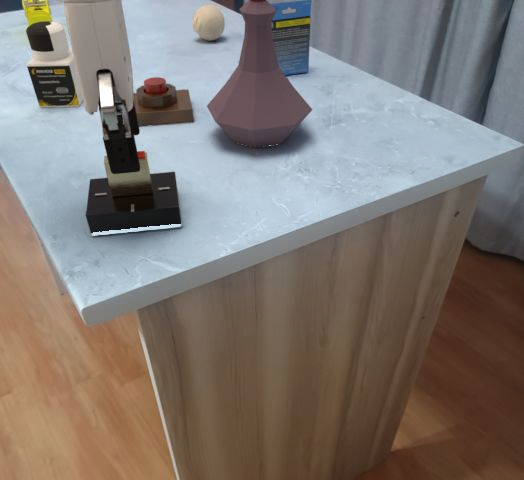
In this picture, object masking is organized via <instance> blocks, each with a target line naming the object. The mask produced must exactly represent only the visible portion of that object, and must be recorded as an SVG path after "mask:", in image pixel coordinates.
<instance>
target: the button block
mask: <svg viewBox="0 0 524 480" xmlns="http://www.w3.org/2000/svg"><path fill="white" fill-rule="evenodd" d="M166 86H167V92H166V93H163V94H157V95H151V94H146V93H145V87H144V84H143V85H141V86H139V87H138V88H137V89H135V90H136V91H135V92H133V100H134V104H135V109H136V114H137V119H138V125H139V127H149V126H148V125H152V126H163V125H175V124H190V123H194V122H195V121H194V111H193V105H192V99H191V95H190V91H189V89H187V88H186V89H177V87H176V86H175V85H174V84H171V83H166Z"/></svg>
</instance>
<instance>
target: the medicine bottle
mask: <svg viewBox="0 0 524 480" xmlns="http://www.w3.org/2000/svg"><path fill="white" fill-rule="evenodd" d="M52 21H53V20H52ZM52 21H43V22H37V23H34V24H31V25H30V26H28V27H26V30H25V33H26V36H27V39H28V43H29V46H30V48H31V53H32V55H33V56H32V57H31V59H30V60H29V61H28V62H27V63H26V68H27V71H28V75H29V78H30V81H31V85H32V86H33V90H34V93H35V97H36V100H37V103H38V106H39V108H45V109H46V108H79V107H81V104H82V102H84V101H83V96H82V92H81V87H80V82H79V78H78V74H77V69H76V65H75V60H74V56H73V51H72V49H70V47H69V42H68V38H67V36H66V31H65V26H63V25H62V23H59V22H56V21H53V22H52Z"/></svg>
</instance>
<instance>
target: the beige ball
mask: <svg viewBox="0 0 524 480" xmlns="http://www.w3.org/2000/svg"><path fill="white" fill-rule="evenodd" d="M191 24H192V29H193V31H194V32H195V33H196V34H197V35H198V36H199V37H200V38H201V39H203V40H204V41H205V40H206V41H215V40H218V39H219V38H220V37H221V36H222V35H223V33H224V31H225V27H226V22H225V16H224V14H223V12H222V10H221V9H220V8H219V7H218V6H215V5H213V4H204V5H201V6H200V7H199V8H198V9H197V10H196V12H195V13H194V14H193V17H192V22H191Z"/></svg>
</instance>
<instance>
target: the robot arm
mask: <svg viewBox="0 0 524 480" xmlns="http://www.w3.org/2000/svg"><path fill="white" fill-rule="evenodd" d="M56 1H57V2H62V3H63V8H64V14H65V21H66V25H67V31H68V37H69V41H70V46H71V50H72V51H73V56H74V60H75V65H76V69H77V74H78V78H79V82H80V87H81V92H82V96H83V101H82V102H83V104H84V110H85V112H86V113H87V114H89V115H90V116H94V115H95V113H97V112H98V111H99V118H100V124H101V130H102V141H103V145H104V149H105V153H106V156H107V158H108V162H109V166H110V170H111V172H112V173H113V174H121V173H131V172H139V171H140V163H139V158H138V153H137V152H138V149H137V148H138V147H137V144H136V138H135V136H139V135H140V126H139V125H138V119H137V114H136V109H135V104H134V100H133V93H134V73H133V64H132V57H131V56H132V55H131V48H130V41H129V36H128V31H127V25H126V24H127V23H126V19H125V18H126V17H125V13H124V7H123V1H122V0H56Z"/></svg>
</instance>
